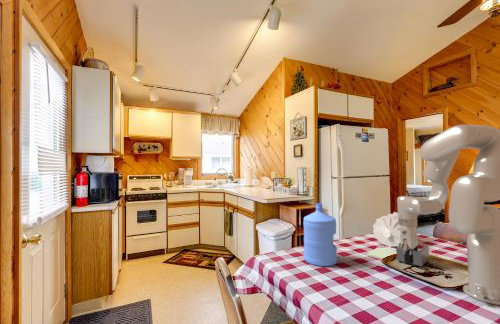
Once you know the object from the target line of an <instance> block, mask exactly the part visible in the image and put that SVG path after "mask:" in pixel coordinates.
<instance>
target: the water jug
mask: <svg viewBox="0 0 500 324" xmlns="http://www.w3.org/2000/svg"><path fill="white" fill-rule="evenodd" d="M336 233H337V220H336V218H335V217H333V216H331V215H329V214H327V213H326V212H324V211H323V203H322V202H321V203H320V202H316V203H315V211H314V212H312V213H310V214H308V215H305V216H304V217H303V246H304V247H303V248H304V249H303V251H304V253H303V258H304V261H305V262H306V263H308V264H310V265H312V266H318V267H331V266H334V265H336V264H337V262H338V256H337V255H338V254H337V252H338V251H337V249H338V248H337V246H336V244H334V235H335V234H336Z"/></svg>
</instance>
